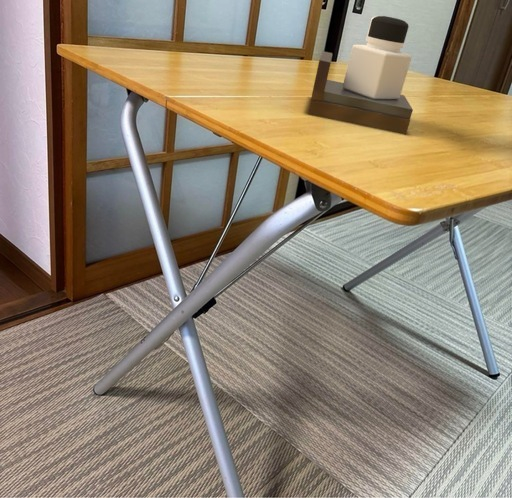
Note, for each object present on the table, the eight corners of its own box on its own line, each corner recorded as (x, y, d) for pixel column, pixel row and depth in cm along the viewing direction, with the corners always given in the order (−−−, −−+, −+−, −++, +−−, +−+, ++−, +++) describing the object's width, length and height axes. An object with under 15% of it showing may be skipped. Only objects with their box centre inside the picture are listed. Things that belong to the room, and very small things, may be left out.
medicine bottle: (399, 99, 87) (422, 23, 81) (374, 100, 82) (395, 19, 77) (367, 89, 91) (386, 16, 86) (341, 88, 87) (359, 11, 81)
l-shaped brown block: (397, 116, 94) (411, 69, 90) (405, 135, 82) (422, 80, 78) (312, 99, 95) (322, 51, 91) (307, 114, 83) (319, 59, 79)
